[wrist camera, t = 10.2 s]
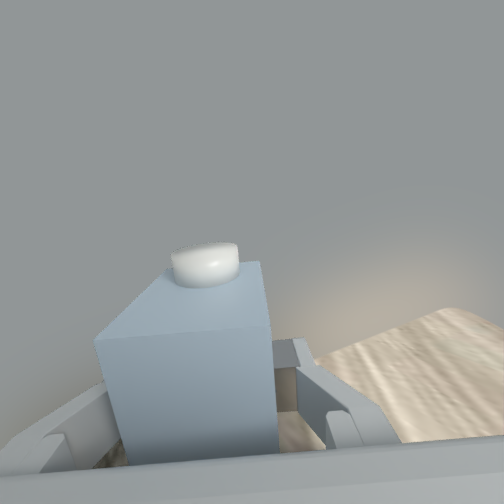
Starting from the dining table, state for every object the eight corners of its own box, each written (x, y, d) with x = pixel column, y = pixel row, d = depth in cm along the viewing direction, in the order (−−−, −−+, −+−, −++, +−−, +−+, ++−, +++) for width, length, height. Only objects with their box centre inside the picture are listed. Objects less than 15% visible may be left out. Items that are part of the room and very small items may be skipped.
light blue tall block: (169, 602, 8) (80, 299, 5) (199, 444, 13) (162, 246, 10) (289, 592, 8) (267, 283, 5) (273, 438, 13) (257, 237, 10)
